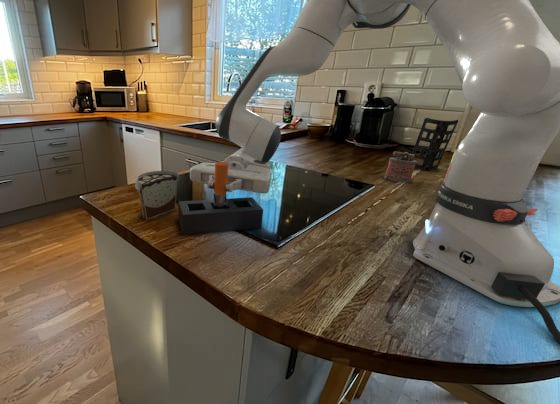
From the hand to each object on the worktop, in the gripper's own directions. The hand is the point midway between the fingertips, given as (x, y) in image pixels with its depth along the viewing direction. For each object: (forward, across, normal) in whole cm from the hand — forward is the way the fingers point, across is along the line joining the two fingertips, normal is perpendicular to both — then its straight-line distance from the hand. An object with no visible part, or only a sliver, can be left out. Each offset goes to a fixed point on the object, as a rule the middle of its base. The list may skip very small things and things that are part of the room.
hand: (219, 187), depth 68 cm
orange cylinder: (-1, 0, +7) cm, 7 cm away
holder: (-83, +58, +10) cm, 102 cm away
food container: (0, -18, +10) cm, 21 cm away
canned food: (-63, +66, +10) cm, 91 cm away
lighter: (-61, +46, +10) cm, 77 cm away
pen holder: (-1, 0, +10) cm, 10 cm away
